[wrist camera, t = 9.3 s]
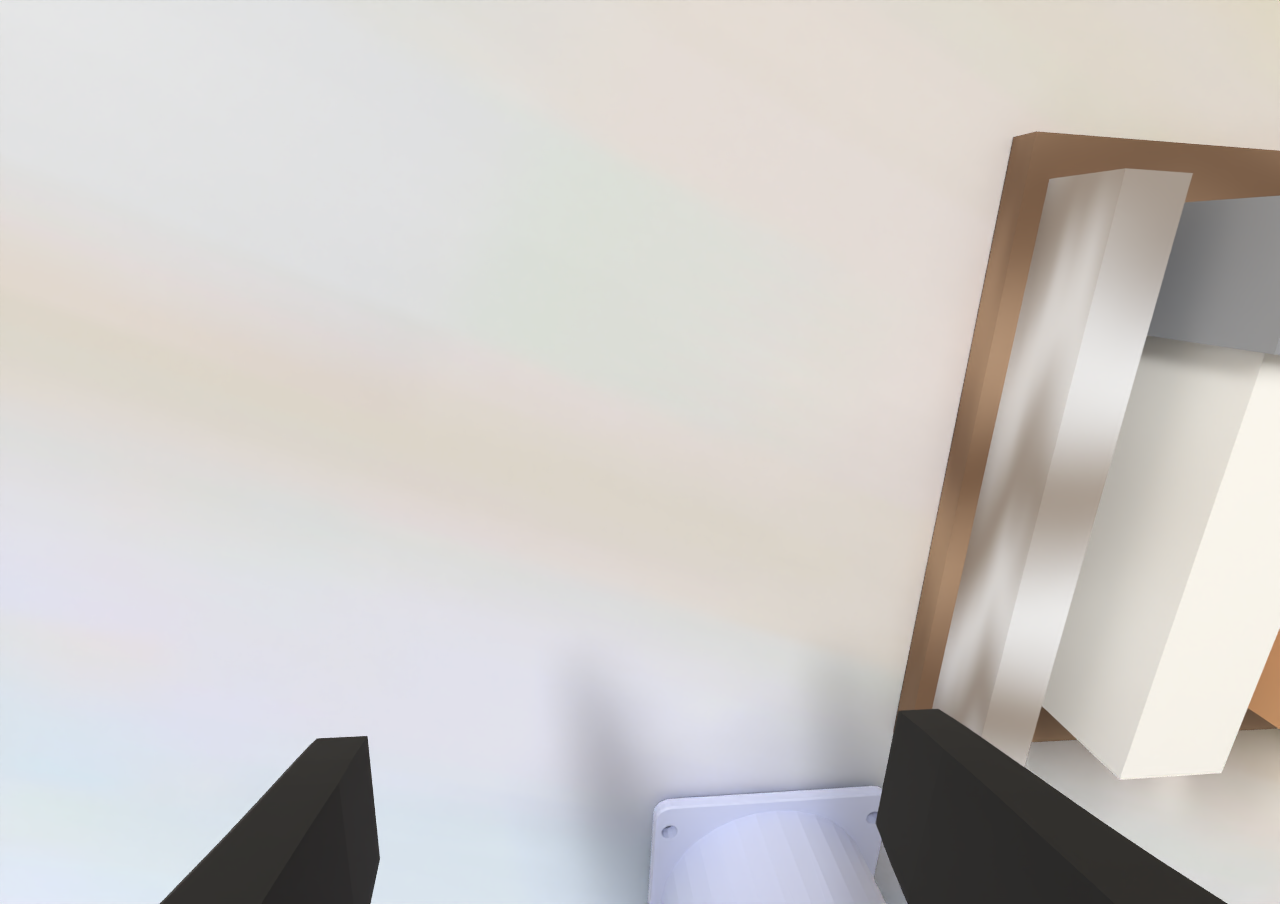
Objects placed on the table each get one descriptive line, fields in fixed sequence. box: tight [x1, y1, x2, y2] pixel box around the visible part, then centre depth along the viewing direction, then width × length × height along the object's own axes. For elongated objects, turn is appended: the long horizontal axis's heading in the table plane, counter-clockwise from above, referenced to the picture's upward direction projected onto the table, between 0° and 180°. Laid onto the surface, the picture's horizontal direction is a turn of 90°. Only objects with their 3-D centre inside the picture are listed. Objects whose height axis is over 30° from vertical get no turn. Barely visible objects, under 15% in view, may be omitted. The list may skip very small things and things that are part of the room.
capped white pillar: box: [1042, 196, 1280, 780], centre depth 16 cm, size 14×4×4 cm, turn 177°
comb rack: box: [894, 132, 1280, 767], centre depth 18 cm, size 18×16×3 cm
